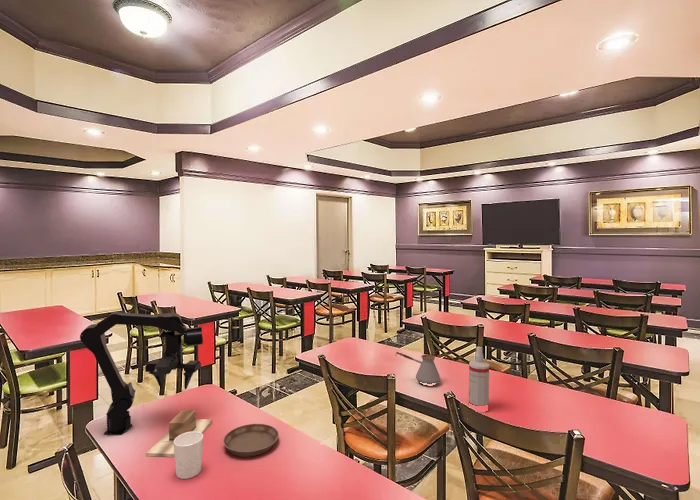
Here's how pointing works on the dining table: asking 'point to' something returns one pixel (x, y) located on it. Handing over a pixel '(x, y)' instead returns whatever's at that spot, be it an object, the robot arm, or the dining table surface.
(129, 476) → the dining table surface
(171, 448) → the board
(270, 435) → the plant saucer
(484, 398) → the grey nozzle bottle
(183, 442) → the white cup
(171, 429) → the block
